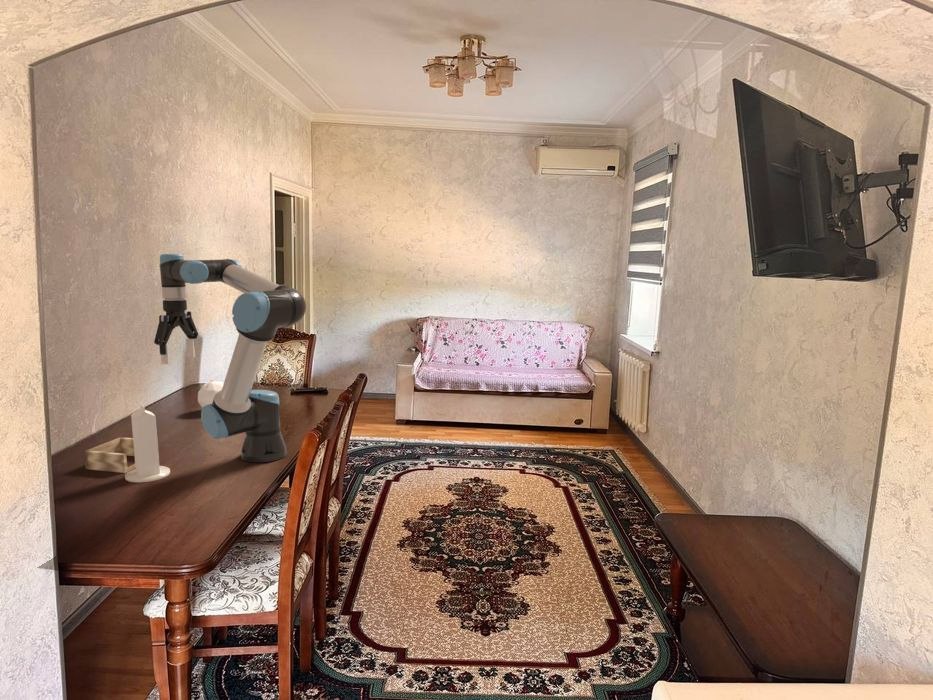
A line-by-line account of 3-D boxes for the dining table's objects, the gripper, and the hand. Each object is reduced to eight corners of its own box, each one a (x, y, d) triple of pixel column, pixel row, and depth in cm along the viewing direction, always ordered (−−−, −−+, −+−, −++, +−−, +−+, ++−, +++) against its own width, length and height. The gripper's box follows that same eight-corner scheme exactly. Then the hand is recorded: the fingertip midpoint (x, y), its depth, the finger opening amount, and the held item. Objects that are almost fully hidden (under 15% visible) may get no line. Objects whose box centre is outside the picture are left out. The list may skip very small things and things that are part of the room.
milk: (139, 477, 204) (133, 409, 200) (135, 472, 209) (129, 405, 205) (160, 473, 208) (154, 406, 204) (156, 468, 213) (150, 402, 209)
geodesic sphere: (221, 404, 273) (227, 373, 280) (187, 404, 274) (194, 373, 280) (233, 418, 287) (239, 388, 293) (201, 417, 287) (207, 388, 294)
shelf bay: (158, 457, 226) (157, 440, 225) (125, 472, 210) (123, 455, 209) (121, 453, 229) (120, 437, 228) (85, 469, 214) (83, 451, 213)
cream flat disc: (179, 469, 213) (178, 467, 213) (151, 484, 201) (151, 481, 201) (144, 466, 216) (144, 464, 216) (115, 480, 204) (115, 478, 204)
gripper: (187, 296, 236) (191, 353, 240) (139, 302, 212) (144, 366, 216) (206, 296, 235) (209, 354, 238) (159, 302, 211) (164, 367, 214)
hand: (178, 360), depth 227 cm, fingers open, 13 cm apart
